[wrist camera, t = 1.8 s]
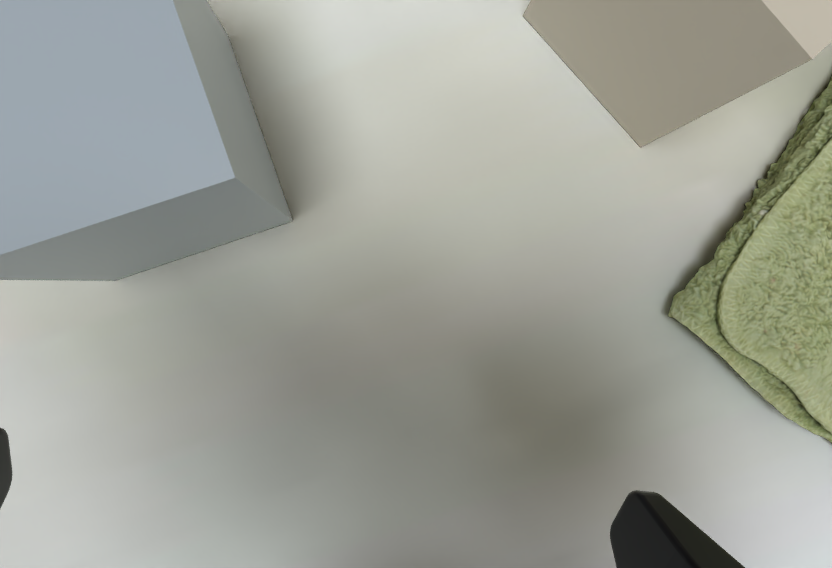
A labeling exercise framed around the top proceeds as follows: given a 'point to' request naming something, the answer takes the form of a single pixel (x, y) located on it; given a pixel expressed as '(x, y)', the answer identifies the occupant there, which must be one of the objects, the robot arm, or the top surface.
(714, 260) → the washcloth
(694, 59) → the taupe cardboard box
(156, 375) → the top surface
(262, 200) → the blue box
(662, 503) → the robot arm
